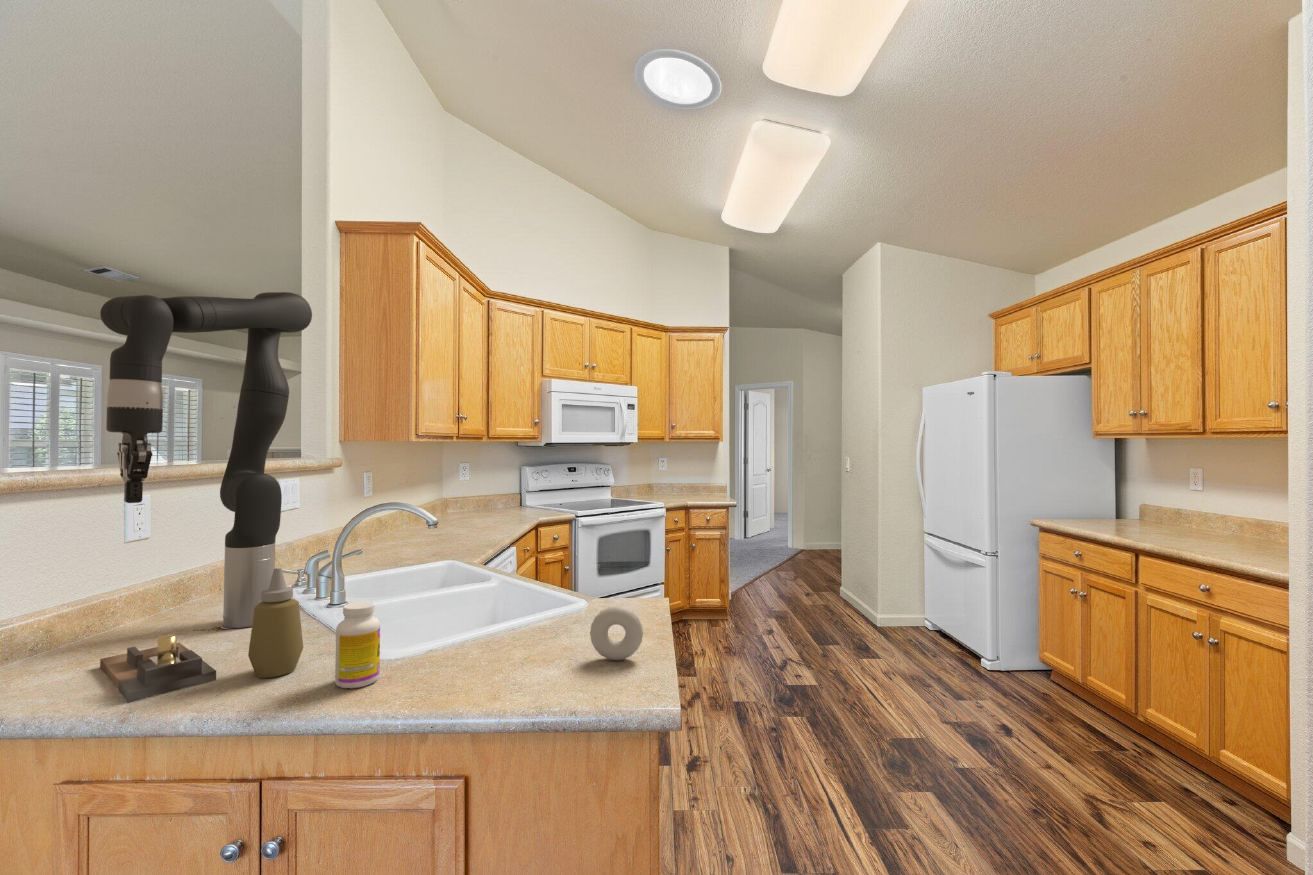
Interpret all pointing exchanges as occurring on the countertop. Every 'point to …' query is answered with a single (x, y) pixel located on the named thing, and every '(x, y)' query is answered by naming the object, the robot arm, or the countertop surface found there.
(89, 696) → the countertop surface
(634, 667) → the countertop surface
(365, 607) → the supplement bottle
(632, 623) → the donut
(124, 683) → the door board
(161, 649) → the lock bolt
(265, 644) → the squeeze bottle
